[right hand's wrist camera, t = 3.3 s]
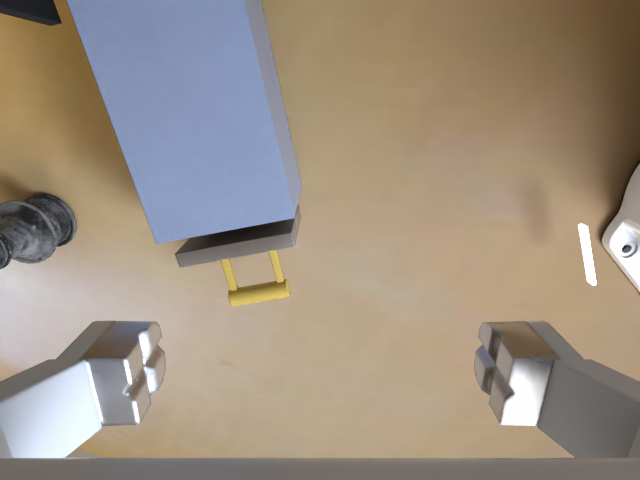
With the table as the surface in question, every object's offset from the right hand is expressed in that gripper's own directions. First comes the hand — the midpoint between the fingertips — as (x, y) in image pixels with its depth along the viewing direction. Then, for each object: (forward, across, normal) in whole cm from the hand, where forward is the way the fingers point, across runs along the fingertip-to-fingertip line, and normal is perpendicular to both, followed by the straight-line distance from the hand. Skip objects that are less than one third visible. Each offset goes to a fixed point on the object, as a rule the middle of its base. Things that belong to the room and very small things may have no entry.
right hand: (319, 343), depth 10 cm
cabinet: (+28, +9, -6) cm, 30 cm away
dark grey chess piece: (+28, +26, +6) cm, 39 cm away
